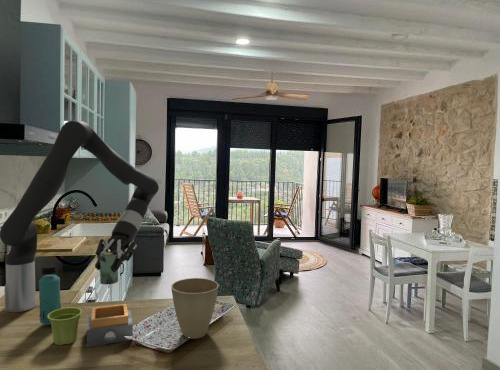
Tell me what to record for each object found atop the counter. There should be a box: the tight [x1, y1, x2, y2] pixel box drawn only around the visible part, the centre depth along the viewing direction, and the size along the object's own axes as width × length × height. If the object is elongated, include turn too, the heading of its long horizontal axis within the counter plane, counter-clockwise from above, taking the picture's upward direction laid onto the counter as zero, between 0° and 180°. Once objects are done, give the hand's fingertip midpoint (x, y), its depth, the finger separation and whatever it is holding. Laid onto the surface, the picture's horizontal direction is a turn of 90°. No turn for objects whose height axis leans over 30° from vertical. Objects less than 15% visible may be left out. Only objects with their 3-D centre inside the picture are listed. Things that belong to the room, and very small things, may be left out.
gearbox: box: [86, 303, 134, 348], centre depth 121 cm, size 13×14×8 cm
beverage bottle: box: [38, 264, 62, 325], centre depth 128 cm, size 6×7×20 cm
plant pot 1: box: [48, 306, 83, 346], centre depth 117 cm, size 9×9×9 cm
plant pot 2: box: [170, 277, 220, 340], centre depth 123 cm, size 15×15×16 cm
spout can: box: [96, 251, 119, 285], centre depth 123 cm, size 8×6×10 cm
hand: (105, 269), depth 122 cm, fingers closed on spout can, 5 cm apart
